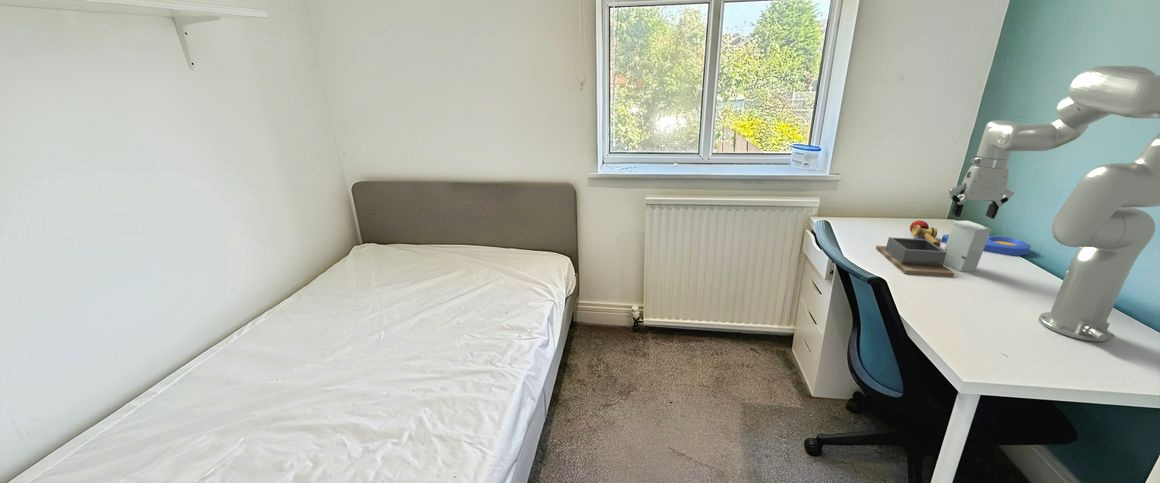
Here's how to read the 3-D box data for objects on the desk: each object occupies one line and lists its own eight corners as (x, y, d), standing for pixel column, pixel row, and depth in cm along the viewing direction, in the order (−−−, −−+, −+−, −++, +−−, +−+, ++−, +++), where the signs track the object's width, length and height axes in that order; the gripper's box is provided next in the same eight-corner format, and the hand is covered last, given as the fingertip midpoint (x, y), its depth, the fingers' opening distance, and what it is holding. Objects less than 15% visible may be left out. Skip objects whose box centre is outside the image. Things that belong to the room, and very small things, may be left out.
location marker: (944, 248, 170) (1034, 258, 160) (946, 240, 169) (1037, 249, 159) (937, 237, 182) (1020, 246, 171) (939, 229, 180) (1023, 237, 170)
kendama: (947, 253, 168) (927, 230, 184) (950, 237, 166) (929, 216, 181) (922, 254, 171) (904, 232, 186) (924, 239, 168) (906, 217, 183)
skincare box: (939, 262, 157) (951, 220, 151) (954, 261, 158) (967, 219, 152) (961, 272, 149) (975, 228, 144) (978, 271, 150) (992, 227, 144)
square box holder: (953, 276, 146) (959, 258, 144) (904, 273, 148) (909, 255, 146) (918, 251, 166) (922, 234, 164) (875, 248, 168) (879, 232, 166)
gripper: (965, 164, 139) (949, 218, 145) (1031, 166, 136) (1011, 221, 143) (951, 159, 146) (936, 211, 152) (1014, 161, 143) (995, 214, 150)
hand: (972, 216), depth 147 cm, fingers open, 9 cm apart
